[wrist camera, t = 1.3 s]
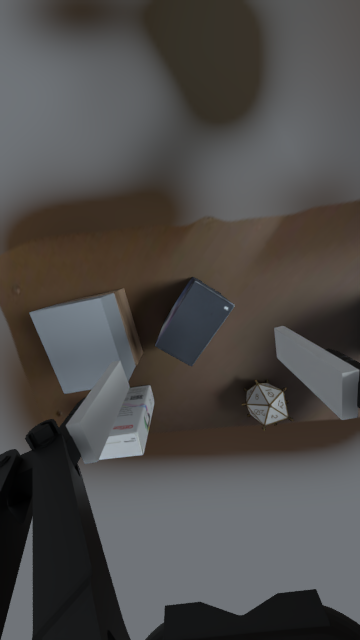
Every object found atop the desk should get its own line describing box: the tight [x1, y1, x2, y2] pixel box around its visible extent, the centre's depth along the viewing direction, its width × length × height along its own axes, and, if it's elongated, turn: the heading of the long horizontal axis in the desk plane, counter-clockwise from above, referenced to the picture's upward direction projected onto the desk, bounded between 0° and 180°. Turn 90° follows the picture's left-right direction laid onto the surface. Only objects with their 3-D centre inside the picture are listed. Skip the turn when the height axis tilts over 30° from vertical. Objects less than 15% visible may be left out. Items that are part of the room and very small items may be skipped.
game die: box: [242, 379, 294, 431], centre depth 35 cm, size 9×8×10 cm
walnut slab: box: [60, 288, 143, 365], centre depth 33 cm, size 10×13×5 cm
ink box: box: [99, 385, 154, 460], centre depth 34 cm, size 8×5×12 cm, turn 100°
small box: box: [155, 277, 234, 366], centre depth 29 cm, size 11×6×10 cm, turn 149°
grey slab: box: [29, 293, 136, 394], centre depth 29 cm, size 10×13×5 cm
